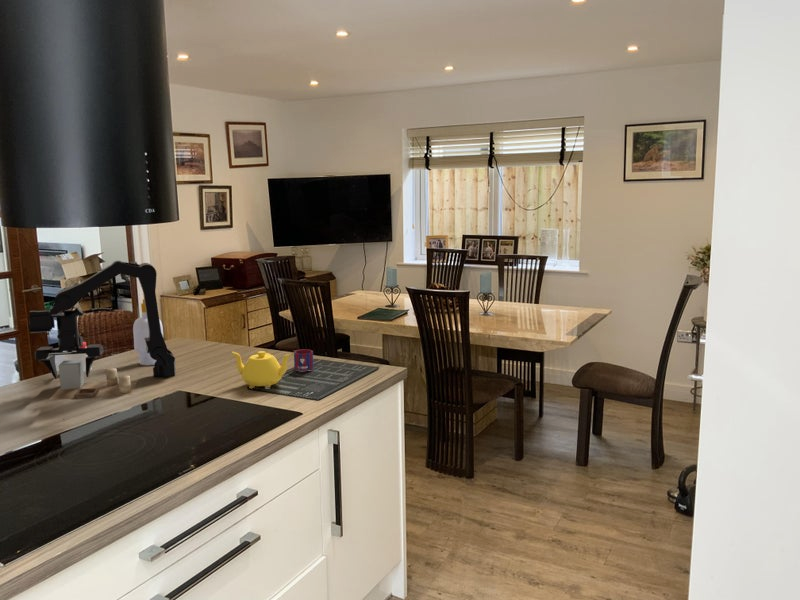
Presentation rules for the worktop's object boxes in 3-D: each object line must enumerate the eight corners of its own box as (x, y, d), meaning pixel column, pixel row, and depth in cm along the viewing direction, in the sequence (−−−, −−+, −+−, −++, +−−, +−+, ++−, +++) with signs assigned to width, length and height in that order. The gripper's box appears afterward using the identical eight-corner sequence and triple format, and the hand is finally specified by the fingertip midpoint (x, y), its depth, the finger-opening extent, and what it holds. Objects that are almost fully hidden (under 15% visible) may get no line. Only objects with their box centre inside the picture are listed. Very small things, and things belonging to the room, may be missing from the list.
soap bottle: (171, 362, 238) (167, 298, 234) (147, 368, 230) (142, 302, 226) (153, 358, 244) (149, 295, 240) (129, 364, 235) (124, 299, 231)
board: (139, 383, 212) (138, 375, 211) (131, 399, 196) (130, 390, 196) (63, 388, 206) (62, 380, 206) (48, 404, 191) (48, 396, 190)
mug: (293, 372, 225) (292, 353, 224) (297, 365, 235) (296, 347, 234) (312, 372, 225) (311, 354, 224) (315, 365, 235) (315, 347, 234)
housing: (84, 383, 207) (82, 359, 206) (80, 388, 202) (78, 364, 201) (65, 384, 206) (63, 360, 205) (60, 389, 201) (58, 365, 199)
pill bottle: (74, 378, 218) (71, 347, 216) (63, 374, 222) (60, 343, 220) (96, 373, 224) (93, 342, 222) (85, 369, 228) (82, 339, 226)
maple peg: (131, 390, 200) (130, 375, 199) (130, 393, 197) (129, 377, 196) (120, 391, 199) (119, 375, 198) (119, 394, 196) (117, 378, 195)
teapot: (298, 378, 218) (297, 346, 216) (287, 392, 203) (286, 357, 202) (241, 377, 220) (239, 344, 218) (226, 390, 205) (224, 356, 203)
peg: (118, 382, 208) (117, 367, 207) (116, 385, 205) (115, 370, 204) (108, 383, 207) (106, 368, 206) (106, 386, 204) (104, 371, 203)
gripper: (105, 323, 211) (108, 369, 214) (42, 326, 207) (47, 372, 209) (97, 330, 200) (101, 378, 203) (31, 333, 196) (36, 382, 199)
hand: (72, 377), depth 204 cm, fingers open, 9 cm apart
